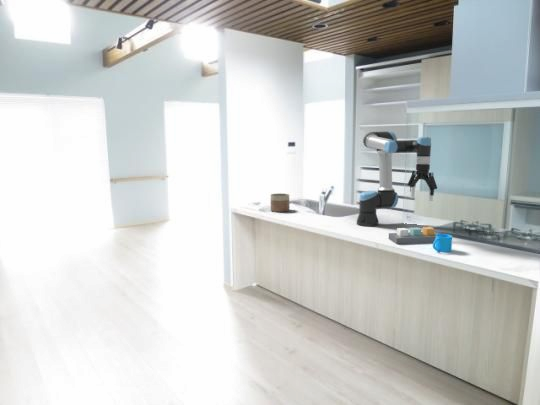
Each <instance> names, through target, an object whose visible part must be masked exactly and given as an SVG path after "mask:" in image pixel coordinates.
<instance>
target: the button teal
mask: <svg viewBox="0 0 540 405" xmlns="http://www.w3.org/2000/svg"><path fill="white" fill-rule="evenodd" d="M422 231H423V228H420V227H410V228H409V232H410V235H412V236H421V232H422Z"/></svg>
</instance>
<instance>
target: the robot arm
mask: <svg viewBox="0 0 540 405" xmlns="http://www.w3.org/2000/svg"><path fill="white" fill-rule="evenodd" d="M362 142H363V145H364V146H365V147H366V148H367V149H371V150H372V149H375V150H376V152H377V153H378V170H379V172H378V173H379V175H378V177H379V178H378V179H379V188H378V189H377V190H365V191H362V192H360V194H359V199H358V200H359V206H358V207H359V211H358V212H359V213H358V216H357V219H356V225H357V226H362V227H375V226H378V225H379V222H380V221H379V219H378V216H377V210H385V209H388V210H389V209H394V208H395V207H397V205H398V203H399V195H398V193H397V191H396V190H395V188H394V187H393V162H392V161H393V159H392V157H393V156H392V154H413V153H414V154H416V161H415V163H416V165H415V170H412V171H411V175H410V178H409V180H408V182H407V186H409V193H410V198H411V199H414V198H416V197H415V194H416V185H417V183H418V182H419V180H422V181H425V183H426V185H427V187H428V188H429V189H428V195H427V196H428V197H427V200H428V202H431V201H433V197H434V195H435V190H437V189H438V186H437V183H436V180H435V177H434V172H430V167H431V166H430V165H431V152H432V151H431V150H432V138H431V137H429V136H419V137H417V139H410V140H409V139H408V140H398V139H397V135H396V134H395V133H394V132H393V131H387V130H386V131H369V132H368V133H366V134H365V135H364V137H363V141H362Z"/></svg>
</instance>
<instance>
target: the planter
mask: <svg viewBox="0 0 540 405" xmlns="http://www.w3.org/2000/svg"><path fill="white" fill-rule="evenodd" d="M270 211H271V212H274V213H286V212H288V211H289V212H290V194H288V193H281V192H280V193H271V194H270Z"/></svg>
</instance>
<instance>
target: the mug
mask: <svg viewBox="0 0 540 405" xmlns="http://www.w3.org/2000/svg"><path fill="white" fill-rule="evenodd" d="M432 248H433V249H434V250H435V251H436V252H439V251H440V253H451V252H452V248H453V235H451V234H446V233H437V234H436V239H435V241H434V242H433V243H432Z"/></svg>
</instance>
